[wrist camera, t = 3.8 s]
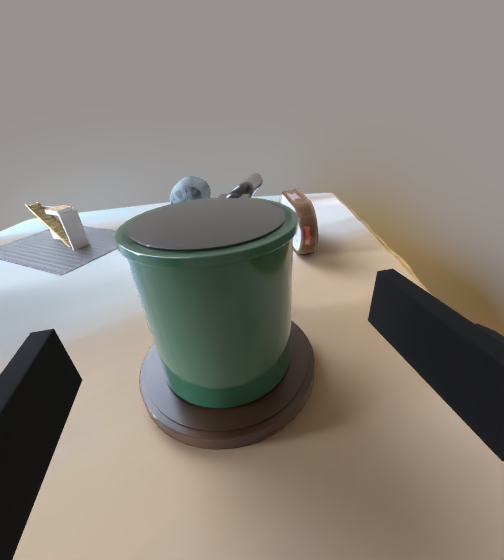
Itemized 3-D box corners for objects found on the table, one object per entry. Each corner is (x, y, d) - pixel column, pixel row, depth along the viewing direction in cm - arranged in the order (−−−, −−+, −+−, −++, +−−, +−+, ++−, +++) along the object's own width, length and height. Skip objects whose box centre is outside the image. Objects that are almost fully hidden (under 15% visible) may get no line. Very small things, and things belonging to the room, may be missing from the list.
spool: (210, 207, 58) (186, 163, 56) (175, 228, 60) (150, 187, 59) (225, 205, 71) (205, 169, 69) (195, 223, 73) (175, 189, 72)
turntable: (102, 404, 22) (96, 394, 21) (204, 302, 33) (203, 293, 33) (280, 490, 16) (280, 479, 15) (329, 331, 28) (330, 321, 27)
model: (74, 250, 50) (56, 209, 46) (39, 243, 54) (20, 205, 50) (89, 244, 53) (74, 204, 49) (55, 237, 57) (38, 200, 53)
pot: (286, 425, 18) (288, 257, 12) (131, 398, 20) (64, 247, 14) (303, 269, 36) (308, 170, 30) (220, 265, 38) (208, 173, 32)
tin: (318, 262, 41) (322, 206, 37) (297, 264, 41) (299, 208, 36) (294, 228, 54) (295, 183, 49) (278, 229, 54) (278, 185, 49)
